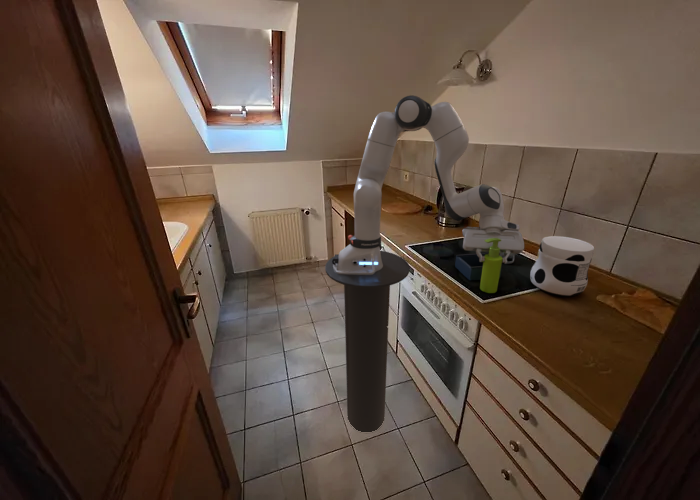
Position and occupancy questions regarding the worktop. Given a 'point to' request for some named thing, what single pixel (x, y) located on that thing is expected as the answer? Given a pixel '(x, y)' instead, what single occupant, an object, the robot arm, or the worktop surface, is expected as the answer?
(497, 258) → the soap dispenser
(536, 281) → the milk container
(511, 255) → the ceramic mug
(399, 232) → the worktop surface
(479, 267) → the blue open box
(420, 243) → the worktop surface
